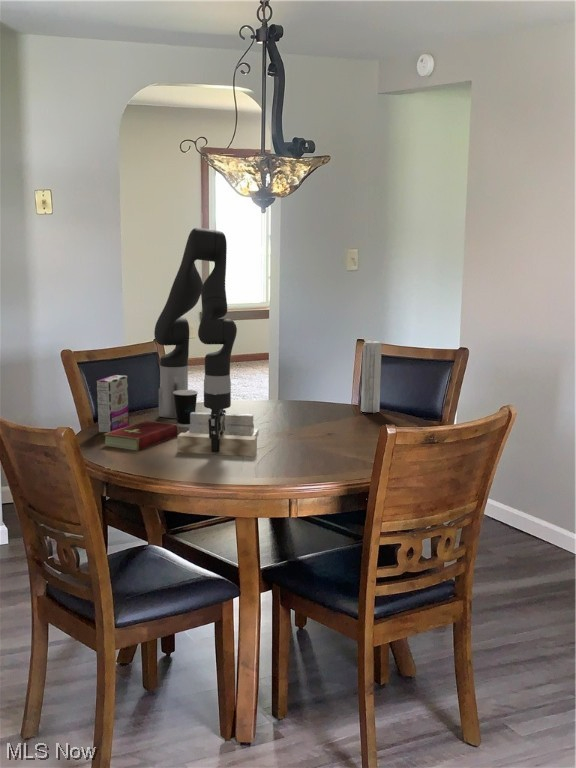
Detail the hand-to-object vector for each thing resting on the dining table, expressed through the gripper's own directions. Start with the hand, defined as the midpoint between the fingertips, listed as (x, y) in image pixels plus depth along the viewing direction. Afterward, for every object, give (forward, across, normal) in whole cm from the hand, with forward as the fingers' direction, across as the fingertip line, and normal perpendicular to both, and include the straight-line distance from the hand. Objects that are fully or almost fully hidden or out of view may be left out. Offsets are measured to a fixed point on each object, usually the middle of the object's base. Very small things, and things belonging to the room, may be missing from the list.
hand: (217, 449), depth 237 cm
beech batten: (+1, 0, 0) cm, 1 cm away
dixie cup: (+1, -32, -16) cm, 36 cm away
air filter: (+1, -64, +43) cm, 77 cm away
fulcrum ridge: (+1, -19, -2) cm, 19 cm away
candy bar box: (+1, -23, -37) cm, 44 cm away
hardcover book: (+2, -10, -24) cm, 26 cm away
